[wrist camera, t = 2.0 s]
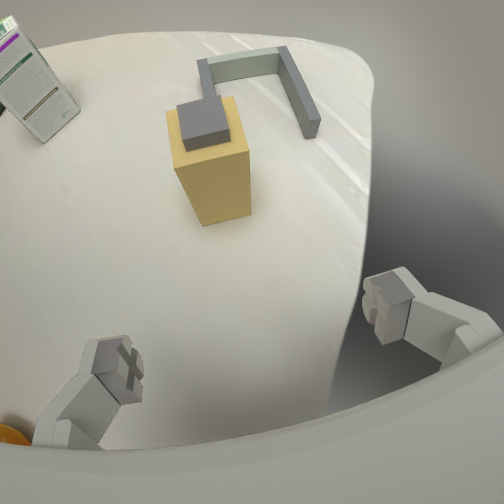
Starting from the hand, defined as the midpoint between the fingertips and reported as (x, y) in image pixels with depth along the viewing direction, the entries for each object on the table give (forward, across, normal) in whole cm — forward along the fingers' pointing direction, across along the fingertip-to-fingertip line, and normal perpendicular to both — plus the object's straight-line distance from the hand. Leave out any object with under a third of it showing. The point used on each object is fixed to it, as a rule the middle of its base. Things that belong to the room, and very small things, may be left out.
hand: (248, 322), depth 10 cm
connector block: (+17, 0, +2) cm, 17 cm away
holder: (+24, -5, -4) cm, 24 cm away
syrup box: (+28, +17, -9) cm, 34 cm away
